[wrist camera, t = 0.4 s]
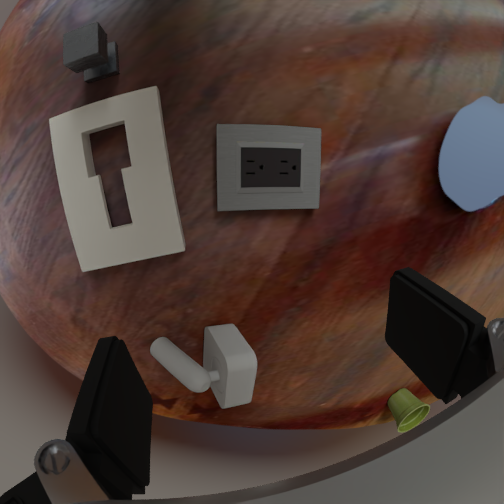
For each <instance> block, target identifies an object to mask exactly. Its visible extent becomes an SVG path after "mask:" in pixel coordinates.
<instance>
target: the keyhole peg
mask: <svg viewBox="0 0 504 504" xmlns="http://www.w3.org/2000/svg"><path fill="white" fill-rule="evenodd" d="M63 65H65V66H66V67H68V68H69V69H71V70H72V71H74V72H75V73H79V72H82V71H84V81H85V82H87V83H91V82H94V81H97V80H100V79H103V78H106V77H109V76H113V75H116V74H120V73H119V60H118V45H117V44H116V42H111V43H108V44H107V34H106V32H105V31H104V30H103V28H102V27H101V26H100V24H99V23H98V22H95V23H92V24H89V25H87V26H84V27H81V28H78V29H76V30H73V31H71V32H68V33H66V34H64V39H63Z"/></svg>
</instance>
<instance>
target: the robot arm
mask: <svg viewBox="0 0 504 504" xmlns="http://www.w3.org/2000/svg"><path fill="white" fill-rule="evenodd" d="M485 320H486V317H484V316H483V315H481V314H480V313H478V312H477V311H476V310H474V309H473V308H471V307H470V306H468V305H467V304H465V303H464V302H462V301H461V300H460V299H458V298H457V297H455V296H454V295H452V294H451V293H449V292H448V291H446V290H445V289H443V288H441V287H440V286H438V285H437V284H435V283H434V282H432V281H431V280H429V279H428V278H426V277H424V276H423V275H421V274H420V273H418V272H416V271H415V270H413V269H412V268H409V267H407V268H404V269H400V270H397V271H395V272H394V274H393V276H392V277H391V279H390V291H389V303H388V314H387V323H386V331H385V340H386V342H387V344H388V345H389V346H390V347H391V349H392V350H393V351H394V352H395V353H396V354H397V355H398V356H399V357H400V358H401V359H402V360H403V361H404V363H405V364H406V365H407V366H408V367H409V368H410V369H411V370H412V371H413V372H414V373H415V375H416V376H417V377H418V378H419V379H420V380H421V381H422V382H423V383H424V384H425V386H426V387H427V388H428V389H429V390H430V391H431V392H432V393H433V394H434V396H435V397H436V398H438V399H442V400H443V402H444V403H445V404H447V403H449V402H450V401H452V400H453V399H455V398H456V397H457V395H458V394H459V395H460V396H461V400H459V401H458V402H456V403H455V404H453V405H451V406H450V407H448V408H447V409H445V410H444V411H442V412H440V413H439V414H437V415H436V416H434V417H432V418H431V419H429V420H427V421H425V422H424V423H422V424H420V425H418V426H417V427H415V428H413V429H411V430H409V431H407V432H406V433H403V434H402V435H400V436H398V437H396V438H394V439H392V440H390V441H388V442H386V443H383V444H381V445H379V446H377V447H375V448H373V449H370V450H368V451H366V452H364V453H361V454H359V455H356V456H354V457H351V458H349V459H347V460H344V461H341V462H339V463H336V464H333V465H330V466H328V467H325V468H322V469H319V470H316V471H313V472H310V473H306V474H303V475H300V476H296V477H293V478H289V479H286V480H282V481H278V482H275V483H270V484H266V485H262V486H257V487H253V488H247V489H242V490H237V491H231V492H225V493H218V494H211V495H203V496H193V497H184V498H170V499H149V500H132V494H145V486H148V485H149V482H150V444H151V425H152V409H153V402H152V398H151V395H150V393H149V391H148V389H147V388H146V386H145V384H144V382H143V380H142V378H141V376H140V374H139V372H138V370H137V368H136V366H135V364H134V362H133V360H132V358H131V356H130V353H129V351H128V349H127V347H126V345H125V343H124V341H123V340H119V339H118V338H117V337H116V336H112V337H106V338H100V339H99V340H98V343H97V345H96V348H95V350H94V353H93V356H92V358H91V361H90V363H89V366H88V369H87V372H86V374H85V377H84V380H83V383H82V386H81V389H80V392H79V395H78V398H77V401H76V404H75V407H74V410H73V413H72V417H71V420H70V424H69V427H68V430H67V436H66V439H65V440H61V439H54V440H51V441H48V442H46V443H44V444H43V445H42V446H41V447H40V448H39V449H38V451H37V453H36V455H35V459H34V465H35V469H36V472H35V473H33V474H32V475H30V476H29V477H27V478H26V479H25V480H23V481H22V482H20V483H19V484H17V485H16V486H14V487H13V488H11V489H10V490H8V491H7V492H5V493H4V494H3V495H2V496H1V497H0V504H504V318H496V319H494V320H492V321H490V322H489V324H488V326H487V328H485V327H484V323H485Z"/></svg>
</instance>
